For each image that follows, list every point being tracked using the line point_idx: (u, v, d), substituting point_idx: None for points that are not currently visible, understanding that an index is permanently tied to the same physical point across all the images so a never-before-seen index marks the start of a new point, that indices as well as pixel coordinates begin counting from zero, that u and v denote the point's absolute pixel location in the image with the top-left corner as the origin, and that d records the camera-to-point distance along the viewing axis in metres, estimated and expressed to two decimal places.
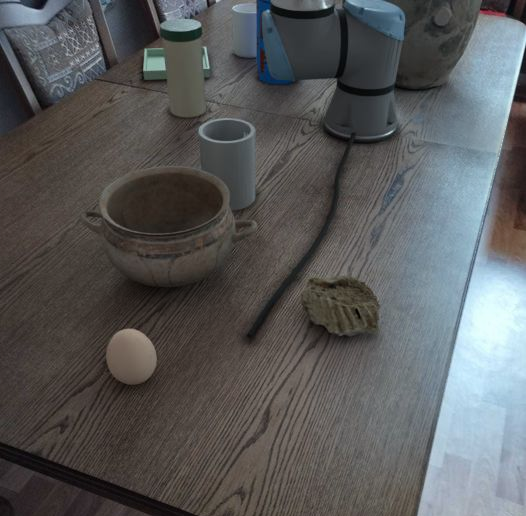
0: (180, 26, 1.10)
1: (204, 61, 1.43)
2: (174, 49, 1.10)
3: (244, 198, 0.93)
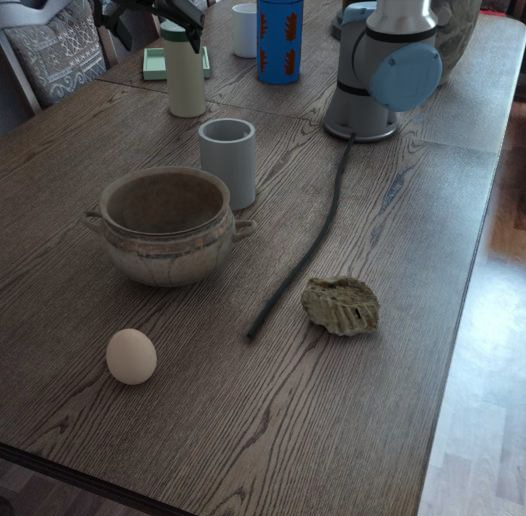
0: None
1: (204, 61, 1.43)
2: (174, 49, 1.10)
3: (244, 198, 0.93)
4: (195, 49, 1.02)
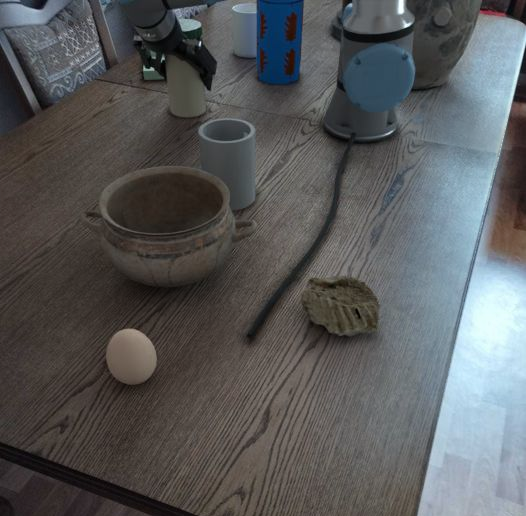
0: None
1: None
2: None
3: (244, 198, 0.93)
4: (207, 87, 1.20)
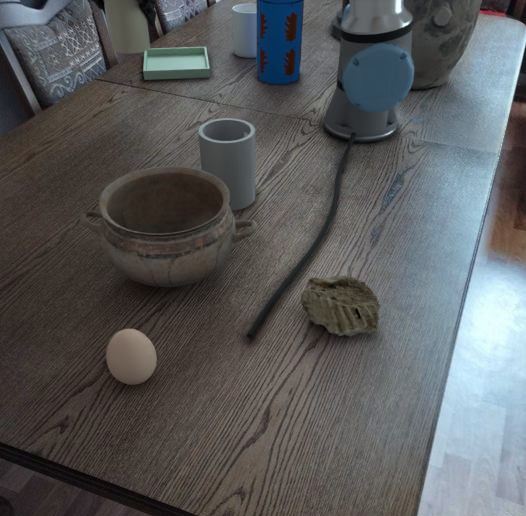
0: None
1: (204, 61, 1.43)
2: None
3: (244, 198, 0.93)
4: (150, 21, 1.11)
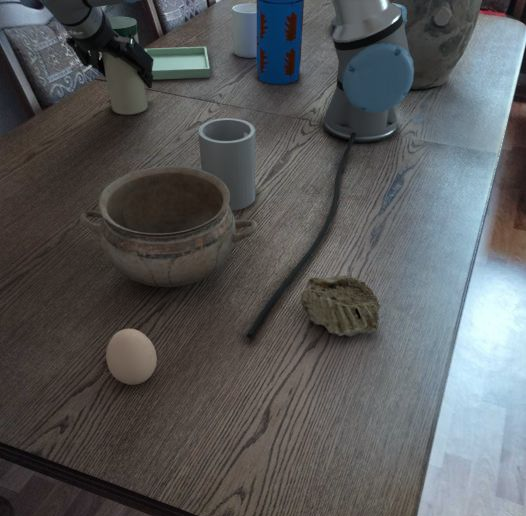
0: (115, 24, 1.11)
1: (204, 61, 1.43)
2: None
3: (244, 198, 0.93)
4: (147, 84, 1.21)
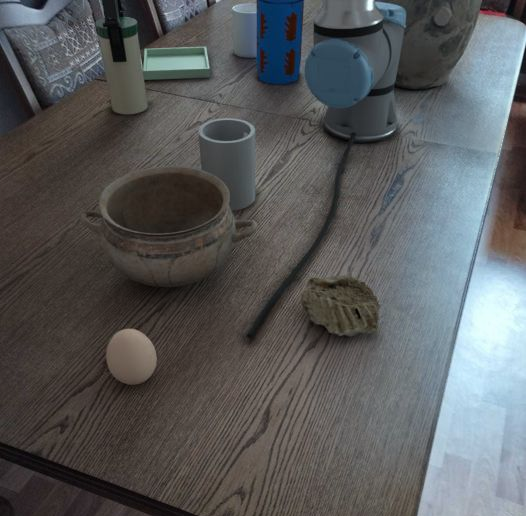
0: None
1: (204, 61, 1.43)
2: (109, 46, 1.11)
3: (244, 197, 0.93)
4: None
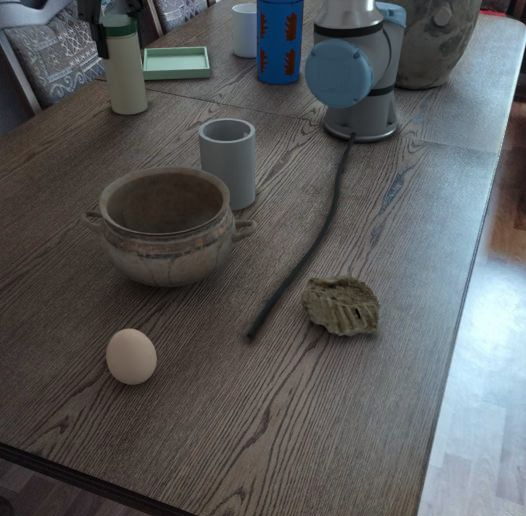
0: (119, 19, 1.12)
1: (204, 61, 1.43)
2: (109, 46, 1.11)
3: (244, 198, 0.93)
4: (140, 40, 1.16)
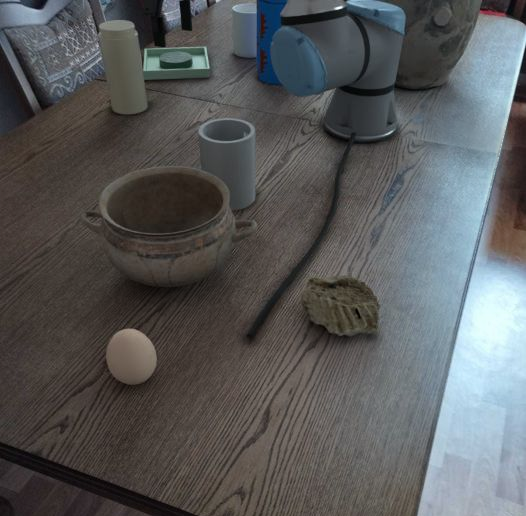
0: (177, 55, 1.40)
1: (204, 61, 1.43)
2: (109, 46, 1.11)
3: (244, 198, 0.93)
4: (191, 24, 1.39)
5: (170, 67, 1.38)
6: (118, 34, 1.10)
